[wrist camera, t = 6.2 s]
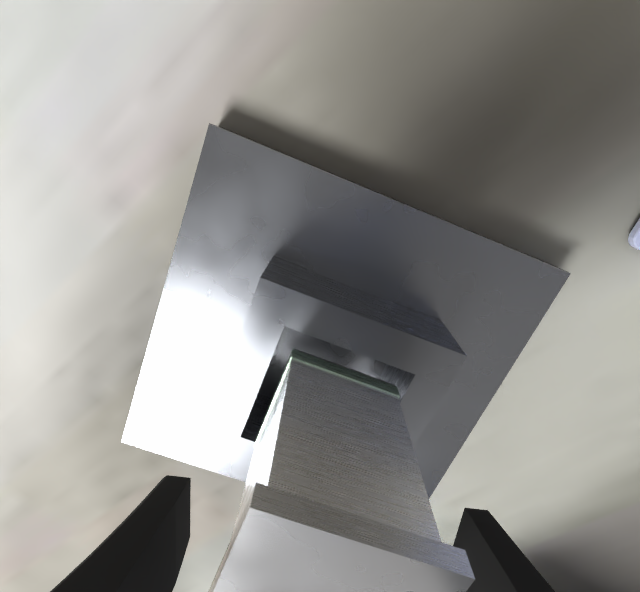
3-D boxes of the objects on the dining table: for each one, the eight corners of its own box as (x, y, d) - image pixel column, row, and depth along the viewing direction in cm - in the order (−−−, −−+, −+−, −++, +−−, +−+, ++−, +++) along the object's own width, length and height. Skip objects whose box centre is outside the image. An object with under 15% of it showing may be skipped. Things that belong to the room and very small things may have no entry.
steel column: (405, 380, 14) (475, 579, 8) (356, 472, 16) (377, 710, 9) (289, 338, 14) (249, 507, 7) (249, 436, 15) (184, 658, 8)
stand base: (554, 266, 18) (626, 298, 13) (402, 515, 23) (419, 597, 18) (217, 125, 16) (177, 112, 12) (132, 426, 21) (82, 493, 17)
